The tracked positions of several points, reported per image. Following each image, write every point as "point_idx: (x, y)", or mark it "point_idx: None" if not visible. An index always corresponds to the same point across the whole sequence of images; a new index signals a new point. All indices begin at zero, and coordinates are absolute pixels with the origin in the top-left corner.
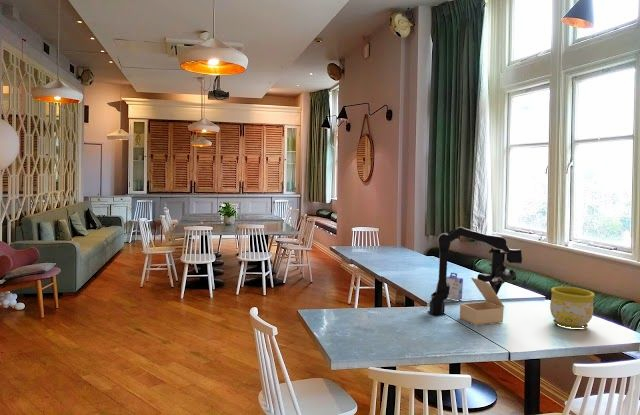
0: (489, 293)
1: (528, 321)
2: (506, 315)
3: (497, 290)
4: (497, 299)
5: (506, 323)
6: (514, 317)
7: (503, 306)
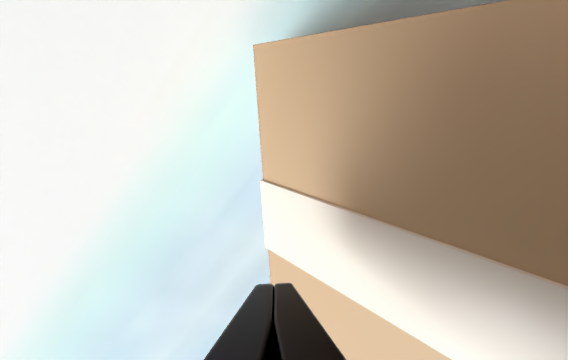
0: (562, 253)
1: (7, 26)
2: (120, 211)
3: (263, 350)
4: (435, 52)
5: (251, 30)
6: (81, 155)
7: (275, 42)
